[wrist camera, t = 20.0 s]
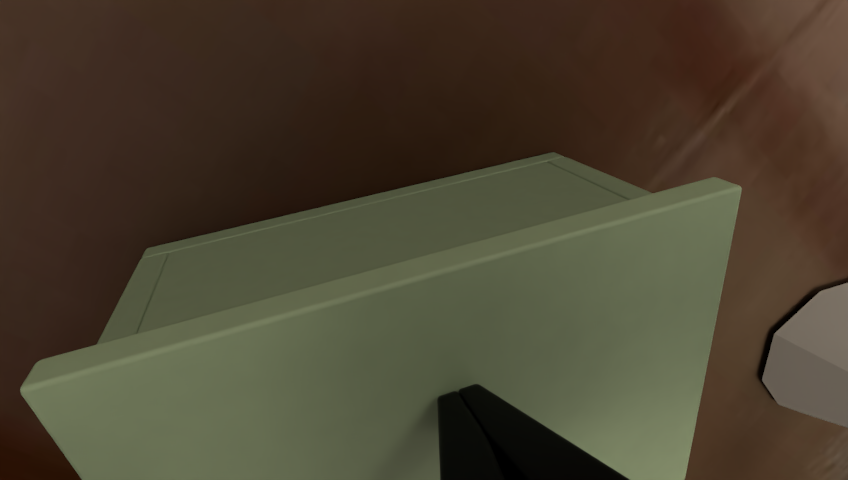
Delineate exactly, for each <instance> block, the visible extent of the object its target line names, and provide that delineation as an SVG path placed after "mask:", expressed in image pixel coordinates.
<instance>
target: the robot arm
mask: <svg viewBox="0 0 848 480" xmlns="http://www.w3.org/2000/svg"><path fill="white" fill-rule="evenodd" d="M437 407H438V434H439V460H440V480H630V479H628V478H627V477H625V476H623V475H622V474H620V473H619V472H617V471H616V470H614V469H612V468H611V467H609V466H608V465H606V464H604V463H603V462H601V461H600V460H598V459H597V458H595V457H593V456H592V455H590V454H589V453H587V452H585V451H584V450H582V449H581V448H579V447H578V446H576V445H574V444H573V443H571V442H570V441H568V440H566V439H565V438H563V437H562V436H560V435H559V434H557V433H555V432H554V431H552V430H551V429H549V428H547V427H546V426H544V425H543V424H541V423H540V422H538V421H536V420H535V419H533V418H532V417H530V416H528V415H527V414H525V413H524V412H522V411H521V410H519V409H517V408H516V407H514V406H513V405H511V404H509V403H508V402H506V401H505V400H503V399H502V398H500V397H498V396H497V395H495V394H494V393H492V392H490V391H489V390H487V389H486V388H484V387H483V386H481V385H479V384H473V385H470V386H467V387H464V388H461V389H460V390H459V391H458V392H457V391H453V392H450V393H447V394H444V395H441V396H439V397H438V399H437Z"/></svg>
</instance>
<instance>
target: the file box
mask: <svg viewBox="0 0 848 480" xmlns="http://www.w3.org/2000/svg"><path fill="white" fill-rule="evenodd" d="M649 194H653V193H651V192H648V191H646V190H643V189H641V188H639V187H636V186H634V185H632V184H629V183H627V182H624V181H622V180H620V179H617V178H615V177H612V176H610V175H608V174H605V173H603V172H601V171H598V170H596V169H593V168H591V167H589V166H586V165H584V164H581V163H579V162H577V161H574V160H572V159H570V158H567V157H564V156H562V155H560V154H557V153H555V152H551V153H547V154H543V155H539V156H535V157H530V158H526V159H522V160H518V161H513V162H509V163H505V164H501V165H497V166H492V167H488V168H484V169H480V170H475V171H471V172H467V173H463V174H459V175H454V176H450V177H446V178H442V179H437V180H433V181H429V182H425V183H421V184H416V185H412V186H408V187H404V188H399V189H395V190H391V191H387V192H383V193H378V194H374V195H370V196H366V197H361V198H357V199H353V200H349V201H345V202H340V203H336V204H332V205H328V206H323V207H319V208H315V209H311V210H307V211H302V212H298V213H294V214H290V215H285V216H281V217H277V218H273V219H269V220H264V221H260V222H256V223H252V224H247V225H243V226H239V227H235V228H231V229H226V230H222V231H218V232H214V233H209V234H205V235H201V236H197V237H193V238H188V239H184V240H180V241H176V242H171V243H167V244H163V245H159V246H155V247H150V248H147V249H146V250H145V252H144V254H143V256H142V258H141V260H140V261H139V263H138V265H137V267H136V269H135V271H134V273H133V275H132V277H131V278H130V280H129V282H128V284H127V286H126V288H125V290H124V292H123V294H122V296H121V298H120V300H119V302H118V304H117V306H116V308H115V309H114V311H113V313H112V315H111V317H110V319H109V321H108V323H107V325H106V327H105V329H104V331H103V333H102V335H101V337H100V339H99V341H98V342H97V344H101V343H104V342H108V341H112V340H115V339H119V338H123V337H127V336H130V335H134V334H138V333H141V332H145V331H149V330H152V329H156V328H160V327H163V326H167V325H171V324H174V323H178V322H182V321H185V320H189V319H193V318H196V317H200V316H204V315H208V314H211V313H215V312H219V311H222V310H226V309H230V308H233V307H237V306H241V305H244V304H248V303H252V302H255V301H259V300H263V299H266V298H270V297H274V296H277V295H281V294H285V293H289V292H292V291H296V290H300V289H303V288H307V287H311V286H314V285H318V284H322V283H325V282H329V281H333V280H336V279H340V278H344V277H347V276H351V275H355V274H358V273H362V272H366V271H370V270H373V269H377V268H381V267H384V266H388V265H392V264H395V263H399V262H403V261H406V260H410V259H414V258H417V257H421V256H425V255H428V254H432V253H436V252H439V251H443V250H447V249H451V248H454V247H458V246H462V245H465V244H469V243H473V242H476V241H480V240H484V239H487V238H491V237H495V236H498V235H502V234H506V233H509V232H513V231H517V230H520V229H524V228H528V227H532V226H535V225H539V224H543V223H546V222H550V221H554V220H557V219H561V218H565V217H568V216H572V215H576V214H579V213H583V212H587V211H590V210H594V209H598V208H601V207H605V206H609V205H613V204H616V203H620V202H624V201H627V200H631V199H635V198H638V197H642V196H646V195H649ZM97 344H96V345H97Z"/></svg>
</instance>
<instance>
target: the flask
mask: <svg viewBox="0 0 848 480" xmlns="http://www.w3.org/2000/svg"><path fill="white" fill-rule="evenodd" d="M762 381H763V383H764V384H765V386H766V387H767V389H768V390H769V392H770V393H771V394H772V396H773V397H774V399H775V400H776V402H777V403H778V405H781V406H784V407H787V408H790V409H792V410H795V411H798V412H801V413H804V414H807V415H810V416H813V417H816V418H819V419H823V420H826V421H829V422H832V423H835V424H838V425H841V426H844V427H847V428H848V283H845V284H842V285H838V286H835V287H832V288H829V289H826V290H823V291H820V292H819V293H818V294H817V295H816V296H814V297H813V298H812V299H811V300H810V301H809V302H808V303H807V304H806V305H805V306H804V307H803V308H801V309H800V310H799V311H798V312H797V313H796V314H795V315H794V316H793V317H792V318H791V319H790V320H788V321H787V322H786V323H785V324H784V325H783V326H782V327H781V328H780V329H779V330H778V331H776V332H775V333H774V337H773V340H772V344H771V348H770V351H769V355H768V359H767V363H766V366H765V370H764V374H763V377H762Z"/></svg>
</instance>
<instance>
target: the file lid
mask: <svg viewBox="0 0 848 480" xmlns="http://www.w3.org/2000/svg"><path fill="white" fill-rule="evenodd" d="M741 191H742V189H741V187H740V186H739V185H736V184H733V183H730V182H727V181H725V180H722V179H719V178H716V177H712V178H708V179H705V180H701V181H697V182H694V183H690V184H686V185H682V186H679V187H675V188H671V189H668V190H664V191H660V192H657V193H653V194H649V195H646V196H642V197H638V198H635V199H631V200H627V201H624V202H620V203H616V204H613V205H609V206H605V207H601V208H598V209H594V210H590V211H587V212H583V213H579V214H576V215H572V216H568V217H565V218H561V219H557V220H554V221H550V222H546V223H543V224H539V225H535V226H532V227H528V228H524V229H520V230H517V231H513V232H509V233H506V234H502V235H498V236H495V237H491V238H487V239H484V240H480V241H476V242H473V243H469V244H465V245H462V246H458V247H454V248H451V249H447V250H443V251H439V252H436V253H432V254H428V255H425V256H421V257H417V258H414V259H410V260H406V261H403V262H399V263H395V264H392V265H388V266H384V267H381V268H377V269H373V270H370V271H366V272H362V273H358V274H355V275H351V276H347V277H344V278H340V279H336V280H333V281H329V282H325V283H322V284H318V285H314V286H311V287H307V288H303V289H300V290H296V291H292V292H289V293H285V294H281V295H277V296H274V297H270V298H266V299H263V300H259V301H255V302H252V303H248V304H244V305H241V306H237V307H233V308H230V309H226V310H222V311H219V312H215V313H211V314H208V315H204V316H200V317H196V318H193V319H189V320H185V321H182V322H178V323H174V324H171V325H167V326H163V327H160V328H156V329H152V330H149V331H145V332H141V333H138V334H134V335H130V336H127V337H123V338H119V339H115V340H112V341H108V342H104V343H101V344H97V345H93V346H90V347H86V348H82V349H79V350H75V351H71V352H68V353H64V354H60V355H57V356H53V357H49V358H46V359H42V360H40V361H38V362H37V363H35V365H34V367H33V368H32V370H31V371H30V373H29V375H28V376H27V378H26V379H25V381H24V383H23V384H22V386H21V388H20V391H21V395H22V396H23V397H24V399H25V400H26V402H27V403H28V404H29V406H30V407H31V409H32V410H33V412H34V413H35V414H36V416H37V417H38V419H39V420H40V421H41V423H42V424H43V426H44V427H45V428H46V430H47V431H48V433H49V434H50V435H51V437H52V438H53V440H54V441H55V442H56V444H57V445H58V447H59V448H60V450H61V451H62V452H63V454H64V455H65V457H66V458H67V459H68V461H69V462H70V464H71V465H72V466H73V468H74V469H75V471H76V472H77V473H78V475H79V476H80V478H81V479H82V480H440V460H439V434H438V407H437V399H438V397H439V396H441V395H444V394H447V393H450V392H453V391H457V392H458V391H459V390H460V389H461V388H464V387H467V386H470V385H473V384H479V385H481V386H483V387H484V388H486V389H487V390H489V391H490V392H492V393H494V394H495V395H497V396H498V397H500V398H502V399H503V400H505V401H506V402H508V403H509V404H511V405H513V406H514V407H516V408H517V409H519V410H521V411H522V412H524V413H525V414H527V415H528V416H530V417H532V418H533V419H535V420H536V421H538V422H540V423H541V424H543V425H544V426H546V427H547V428H549V429H551V430H552V431H554V432H555V433H557V434H559V435H560V436H562V437H563V438H565V439H566V440H568V441H570V442H571V443H573V444H574V445H576V446H578V447H579V448H581V449H582V450H584V451H585V452H587V453H589V454H590V455H592V456H593V457H595V458H597V459H598V460H600V461H601V462H603V463H604V464H606V465H608V466H609V467H611V468H612V469H614V470H616V471H617V472H619V473H620V474H622V475H623V476H625V477H627V478H628V479H630V480H685V475H686V470H687V465H688V460H689V455H690V450H691V445H692V440H693V435H694V430H695V425H696V420H697V414H698V409H699V404H700V399H701V394H702V389H703V384H704V379H705V374H706V369H707V364H708V359H709V354H710V348H711V343H712V338H713V333H714V328H715V323H716V318H717V313H718V308H719V303H720V298H721V293H722V287H723V282H724V277H725V272H726V267H727V262H728V257H729V252H730V247H731V242H732V237H733V232H734V226H735V221H736V216H737V211H738V206H739V201H740V196H741Z"/></svg>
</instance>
